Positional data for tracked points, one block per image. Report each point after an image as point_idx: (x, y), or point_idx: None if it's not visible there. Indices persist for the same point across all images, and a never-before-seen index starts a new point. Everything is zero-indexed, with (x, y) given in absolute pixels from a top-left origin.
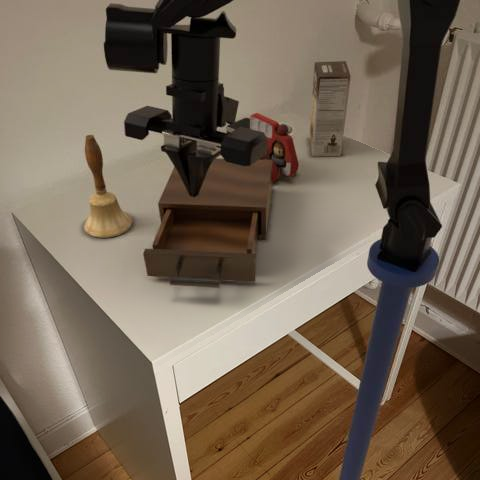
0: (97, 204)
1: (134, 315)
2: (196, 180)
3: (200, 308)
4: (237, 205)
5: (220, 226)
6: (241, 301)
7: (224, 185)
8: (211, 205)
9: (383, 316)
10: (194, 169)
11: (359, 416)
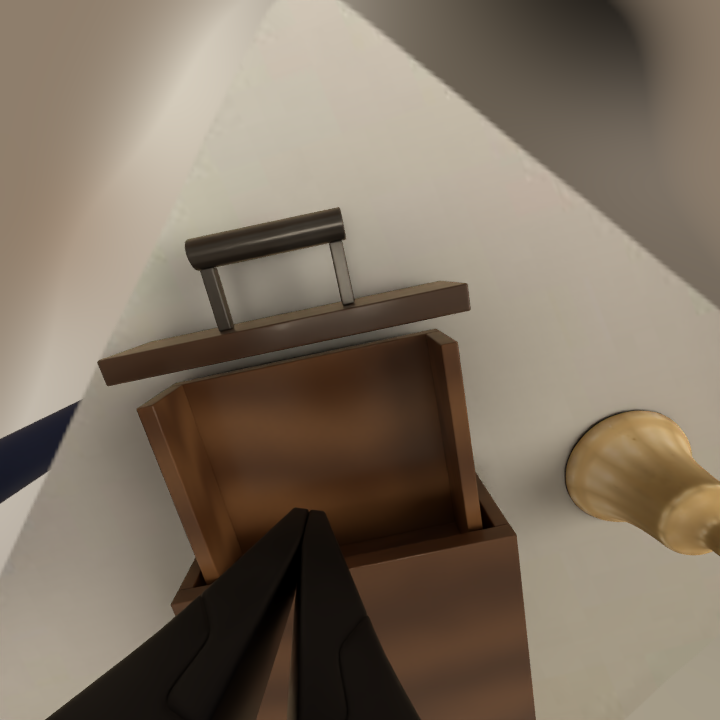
0: (708, 487)
1: (416, 130)
2: (206, 591)
3: (257, 213)
4: None
5: None
6: (168, 272)
7: None
8: None
9: (28, 435)
10: (119, 710)
11: None
